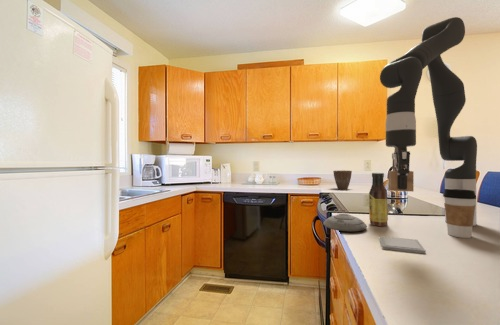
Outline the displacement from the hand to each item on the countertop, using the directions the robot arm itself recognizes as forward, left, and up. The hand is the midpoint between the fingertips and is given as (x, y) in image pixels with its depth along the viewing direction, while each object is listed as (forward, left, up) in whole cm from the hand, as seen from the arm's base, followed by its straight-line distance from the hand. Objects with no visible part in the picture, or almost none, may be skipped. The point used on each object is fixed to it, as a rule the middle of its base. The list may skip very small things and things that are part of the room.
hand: (400, 188), depth 72 cm
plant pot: (-145, -23, -17) cm, 147 cm away
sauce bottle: (-24, -4, -17) cm, 29 cm away
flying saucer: (-15, -16, -17) cm, 27 cm away
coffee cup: (-18, +19, -17) cm, 31 cm away
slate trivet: (0, 0, -16) cm, 16 cm away
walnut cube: (0, 0, -1) cm, 1 cm away
